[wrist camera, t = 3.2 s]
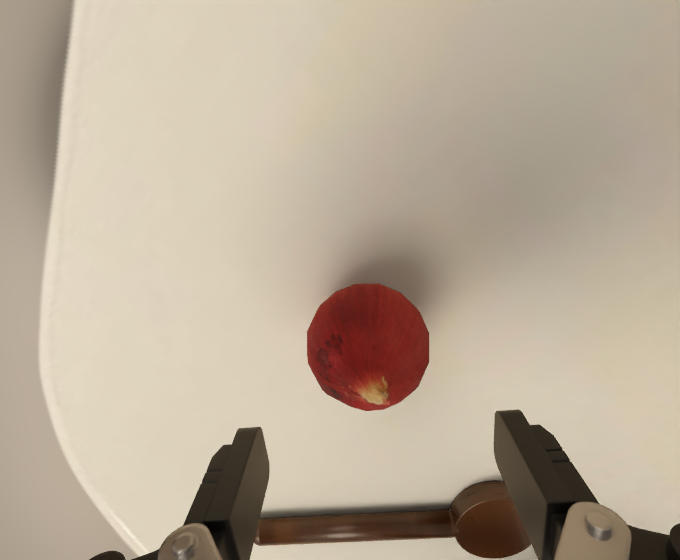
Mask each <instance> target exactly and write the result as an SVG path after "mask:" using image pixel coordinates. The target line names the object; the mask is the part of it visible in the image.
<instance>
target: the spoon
mask: <svg viewBox="0 0 680 560" xmlns="http://www.w3.org/2000/svg"><path fill="white" fill-rule="evenodd" d="M452 537H456V540H457V542H458V543H459V545H460V546H461V547H462V548H463V549H464V550H466V551H467V552H469V553H471V554H473V555H475V556H479V557H483V558H504V557H508V556H512V555H515V554H517V553H519V552H521V551H523V550H525V549H526V548H528V547H529V546H530V545H531V541H530V539H529V537H528V535H527V532H526V530H525V528H524V525H523V523H522V521H521V519H520V516H519V514H518V512H517V510H516V507H515V505H514V503H513V500H512V498H511V496H510V494H509V491H508V489H507V487H506V485H505V482H501V481H489V482H482V483H479V484H475V485H473V486H471V487H469V488H467V489H465V490H464V491H462V492H461V493H460V494H459V495H458V496H457V497H456V498H455V500H454V501H453V504H452V506H451V510H438V511H417V512H396V513H374V514H353V515H332V516H310V517H289V518H268V519H259V522H258V526H257V530H256V535H255V539H254V543H255V544H256V545H259V546H266V545H289V544H313V543H336V542H360V541H383V540H407V539H430V538H452Z"/></svg>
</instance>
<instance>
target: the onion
mask: <svg viewBox="0 0 680 560" xmlns="http://www.w3.org/2000/svg"><path fill="white" fill-rule="evenodd" d="M307 356H308V364H309V366H310V368H311V370H312V372H313V374H314V375H315V377H316V379H317V381H318V383H319V385H320V386H321V388H322V390H323V391H324V392H325V393H326V394H328V395H329V396H331V397H333V398H335V399H337V400H339V401H341V402H343V403H345V404H347V405H348V406H351V407H354V408H358V409H361V410H365V411H371V410H382V409H385V408H388V407H390V406H392V405H395V404H397V403H399V402H401V401H402V400H403V399H404V398H406V397H407V396H408V395H409V394H411V393H412V392H413V391H414V390H415V389H416V388H417V387H418V386H419V384H420V381H421V379H422V377H423V375H424V372H425V370H426V368H427V365H428V363H429V332H428V330H427V328H426V325H425V323H424V321H423V318H422V316H421V314H420V312H419V311H418V309H417V308H416V307H415V306H414V305H413V304H412V303H411V302H410V301H409V300H408V299H407V298H406V297H405V296H403V295H402V294H401V293H400V292H398V291H395V290H393V289H391V288H388V287H386V286H383V285H381V284H354V285H352V286H349V287H346V288H344V289H341V290H339V291H336V292H335V293H334V294H332V295H331V296H330V297H329V298H328V299H327V300H326V301H324V302H323V303H322V304H321V305H320V307H319V308H318V310H317V312H316V314H315V316H314V318H313V320H312V322H311V325H310V327H309V329H308V331H307Z"/></svg>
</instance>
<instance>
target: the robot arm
mask: <svg viewBox="0 0 680 560" xmlns="http://www.w3.org/2000/svg"><path fill="white" fill-rule="evenodd" d="M494 454H495V459H496V463H497V466H498V469H499V471H500V473H501V475H502V478H503V480H504V482H505V485H506V487H507V489H508V491H509V494H510V496H511V498H512V500H513V503H514V505H515V507H516V510H517V512H518V514H519V516H520V519H521V521H522V523H523V525H524V528H525V530H526V532H527V535H528V537H529V539H530V541H531V544H532V546H533V548H534V550H535V553H536V555H537V557H538V560H680V524H677V525H675V526H674V527H673V528H672V529H671V531H670V535H665V534H661V533H656V532H652V531H647V530H643V529H639V528H635V527H632V526H630V525H627V524H626V522H625V521H624V520H623V519H622V518H621V517H620V516H619V515H618V514H617V513H615V512H614V511H612V510H611V509H609V508H607V507H605V506H603V505H600V504H599V503H598V501H597V500H596V498H595V497H594V495H593V494H592V492H591V491H590V489H589V488H588V486H587V485H586V483H585V482H584V480H583V479H582V477H581V476H580V474H579V473H578V471H577V470H576V468H575V467H574V465H573V464H572V462H570V460H569V458H568V456H567V455H566V453H565V452H564V451H563V450H562V447H561V446H560V444H559V443H558V441H557V440H556V438H555V437H554V435H552V434H551V433H550V432H548V431H547V430H546V429H544V428H543V427H542V426H541V425H529V423H528V421H527V420H526V418H525V416H524V415H523V413H522V412H521V411H520V410H506V411H496V413H495V426H494ZM268 480H269V460H268V455H267V451H266V446H265V441H264V437H263V432H262V429H261V427H252V428H239V429H238V430H237V432H236V435H235V438H234V440H233V443H232V445H223V446H222V447H221V448H220V449H219V450H218V452H217V453H216V454H215V455H214V456H213V457H212V459H211V462H210V464H209V466H208V469H207V473H205V476H204V478H203V480H202V484H201V485H200V487H199V490H198V492H197V494H196V497H195V499H194V501H193V504H192V506H191V508H190V511H189V513H188V515H187V518H186V520H185V522H184V525H183V526H182V527H180V528H178V529H176V530H175V531H174V532H172V533H171V534H170V535H169V536H168V537H167V538H166V539H165V541H164V542H163V544H162V545H161V547H160V549H158V550H156V551H154V552H152V553H149V554H146V555H143V556H140V557H138V558H135V559H132V560H250V556H251V551H252V547H253V543H254V539H255V535H256V530H257V526H258V522H259V518H260V514H261V509H262V505H263V501H264V497H265V493H266V488H267V484H268ZM90 560H126V559H125V557H124V555H123V554H121V553H120V552H117V551H108V552H104V553H101V554H99V555H97V556H95V557H93V558H91V559H90Z"/></svg>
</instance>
